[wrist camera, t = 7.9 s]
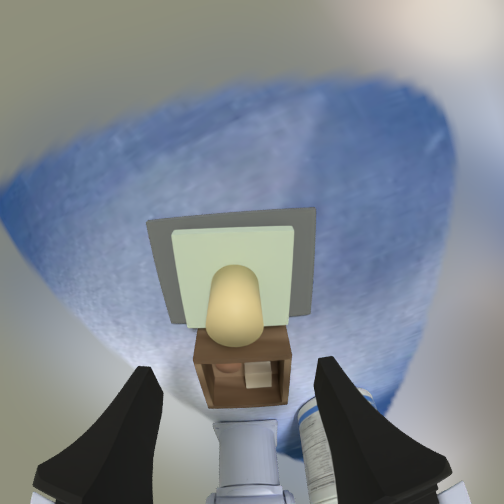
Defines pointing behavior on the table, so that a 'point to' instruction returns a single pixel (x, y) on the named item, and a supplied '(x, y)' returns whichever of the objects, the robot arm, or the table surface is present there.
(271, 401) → the box
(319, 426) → the supplement tub
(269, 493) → the robot arm
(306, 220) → the mat
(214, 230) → the lid
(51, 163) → the table surface
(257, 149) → the table surface
